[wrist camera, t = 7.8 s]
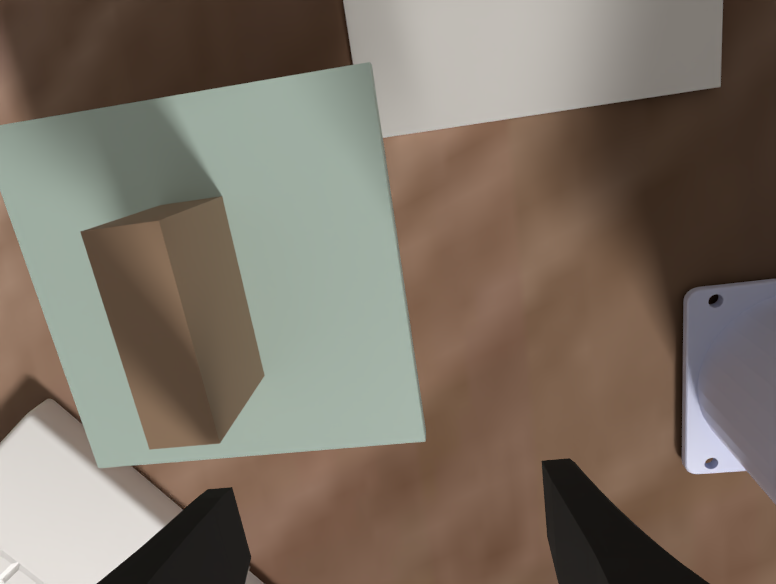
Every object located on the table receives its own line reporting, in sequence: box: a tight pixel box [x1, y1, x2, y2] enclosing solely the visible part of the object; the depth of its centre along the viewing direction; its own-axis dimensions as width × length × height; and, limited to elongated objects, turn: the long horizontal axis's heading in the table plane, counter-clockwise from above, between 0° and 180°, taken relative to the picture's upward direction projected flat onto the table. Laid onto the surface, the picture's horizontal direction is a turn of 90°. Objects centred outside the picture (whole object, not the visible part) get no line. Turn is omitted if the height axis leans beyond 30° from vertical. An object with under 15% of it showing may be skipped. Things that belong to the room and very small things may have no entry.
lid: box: [0, 62, 426, 468], centre depth 16 cm, size 12×12×5 cm
